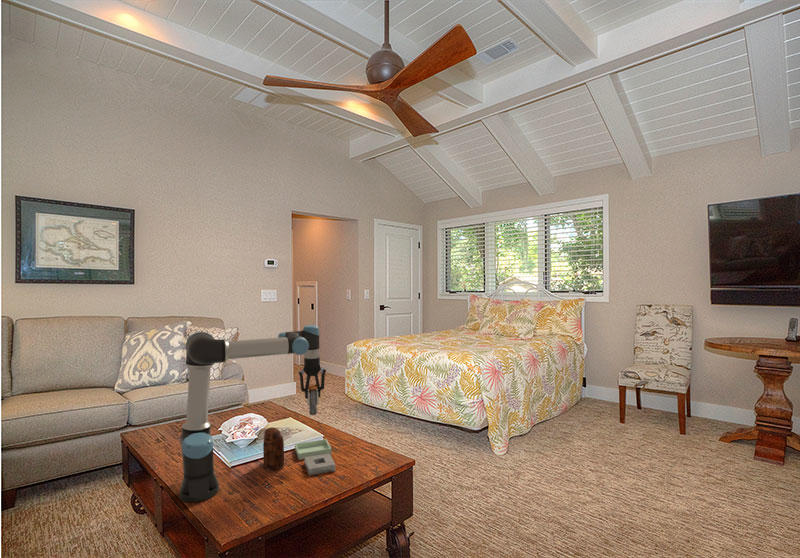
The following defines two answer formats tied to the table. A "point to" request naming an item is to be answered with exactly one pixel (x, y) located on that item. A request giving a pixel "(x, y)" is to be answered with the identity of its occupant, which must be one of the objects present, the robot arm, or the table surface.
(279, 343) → the robot arm
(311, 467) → the block
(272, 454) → the wooden figurine
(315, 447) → the tray
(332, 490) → the table surface
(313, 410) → the pin
